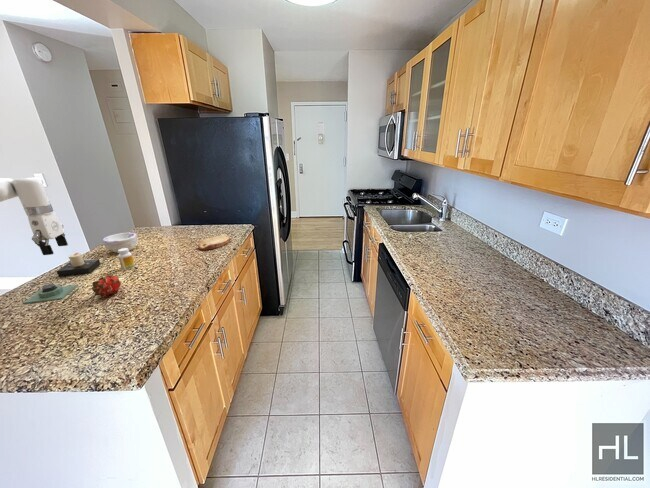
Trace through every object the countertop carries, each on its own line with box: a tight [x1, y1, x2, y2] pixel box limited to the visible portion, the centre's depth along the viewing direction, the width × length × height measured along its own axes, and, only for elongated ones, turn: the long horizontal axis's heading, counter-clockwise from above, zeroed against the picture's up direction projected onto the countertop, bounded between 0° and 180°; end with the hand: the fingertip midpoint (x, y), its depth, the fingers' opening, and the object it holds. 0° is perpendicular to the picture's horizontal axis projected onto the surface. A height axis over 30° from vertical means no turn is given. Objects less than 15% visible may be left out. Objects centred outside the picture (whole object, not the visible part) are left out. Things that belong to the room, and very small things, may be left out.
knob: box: [68, 252, 85, 267], centre depth 122 cm, size 4×4×5 cm
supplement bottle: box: [117, 248, 136, 271], centre depth 125 cm, size 5×5×10 cm
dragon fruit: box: [91, 274, 122, 298], centre depth 104 cm, size 8×8×12 cm
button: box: [41, 283, 56, 292], centre depth 101 cm, size 4×4×2 cm
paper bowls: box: [102, 232, 139, 254], centre depth 146 cm, size 15×15×8 cm
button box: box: [22, 284, 80, 305], centre depth 102 cm, size 12×10×4 cm
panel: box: [56, 258, 102, 278], centre depth 123 cm, size 12×10×3 cm
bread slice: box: [197, 234, 232, 251], centre depth 155 cm, size 18×18×4 cm
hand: (56, 249), depth 108 cm, fingers open, 9 cm apart
